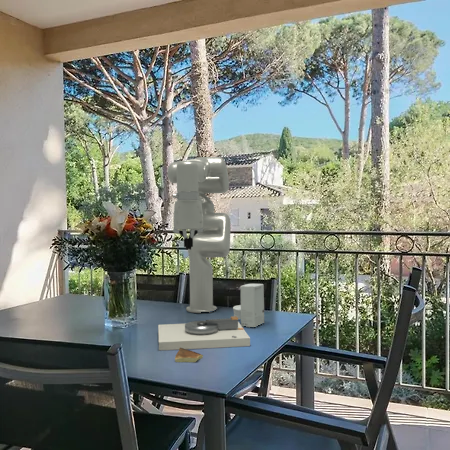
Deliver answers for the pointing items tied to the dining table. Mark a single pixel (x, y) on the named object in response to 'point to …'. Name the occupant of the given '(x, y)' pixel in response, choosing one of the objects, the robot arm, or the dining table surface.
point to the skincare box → (252, 305)
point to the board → (200, 338)
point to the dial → (211, 325)
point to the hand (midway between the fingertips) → (188, 249)
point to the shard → (187, 356)
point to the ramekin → (237, 311)
